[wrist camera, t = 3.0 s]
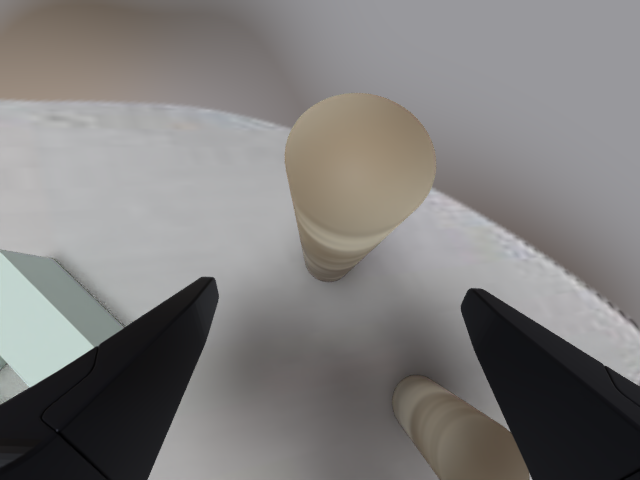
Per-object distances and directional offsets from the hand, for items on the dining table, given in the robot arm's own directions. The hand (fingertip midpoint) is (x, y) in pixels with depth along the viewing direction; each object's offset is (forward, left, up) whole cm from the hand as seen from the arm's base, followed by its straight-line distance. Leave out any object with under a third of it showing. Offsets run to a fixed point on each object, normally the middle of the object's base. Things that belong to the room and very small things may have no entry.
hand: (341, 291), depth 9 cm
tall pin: (+2, -2, -10) cm, 11 cm away
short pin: (-9, +2, -10) cm, 14 cm away
